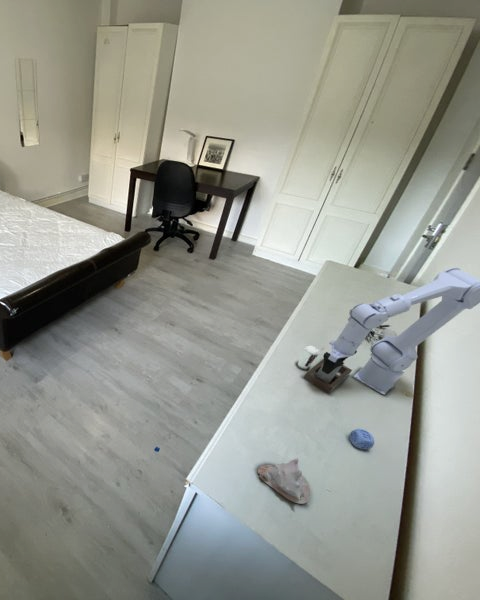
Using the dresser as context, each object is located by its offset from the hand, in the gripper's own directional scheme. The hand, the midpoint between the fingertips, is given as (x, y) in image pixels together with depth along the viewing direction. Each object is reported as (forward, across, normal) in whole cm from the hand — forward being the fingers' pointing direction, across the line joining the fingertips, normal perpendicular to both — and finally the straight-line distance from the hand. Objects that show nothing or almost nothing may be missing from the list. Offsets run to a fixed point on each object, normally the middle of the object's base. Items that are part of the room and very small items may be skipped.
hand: (330, 367), depth 111 cm
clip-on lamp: (+7, -48, 0) cm, 48 cm away
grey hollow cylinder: (+7, 0, 0) cm, 7 cm away
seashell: (+7, +47, +12) cm, 49 cm away
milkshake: (+7, -2, -7) cm, 10 cm away
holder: (+7, -4, 0) cm, 8 cm away
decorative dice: (+7, +16, +18) cm, 25 cm away
